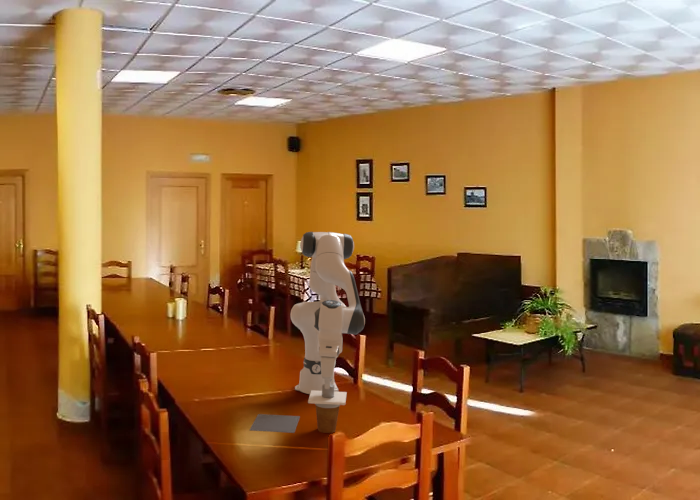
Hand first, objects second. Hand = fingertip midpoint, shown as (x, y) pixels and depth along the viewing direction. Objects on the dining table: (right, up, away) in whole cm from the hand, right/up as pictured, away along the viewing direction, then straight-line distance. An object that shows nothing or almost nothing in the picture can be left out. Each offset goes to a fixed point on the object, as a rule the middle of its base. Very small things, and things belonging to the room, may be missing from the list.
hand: (328, 384), depth 239 cm
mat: (-19, -16, +6) cm, 26 cm away
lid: (0, -5, 0) cm, 5 cm away
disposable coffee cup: (-1, -17, +1) cm, 17 cm away
